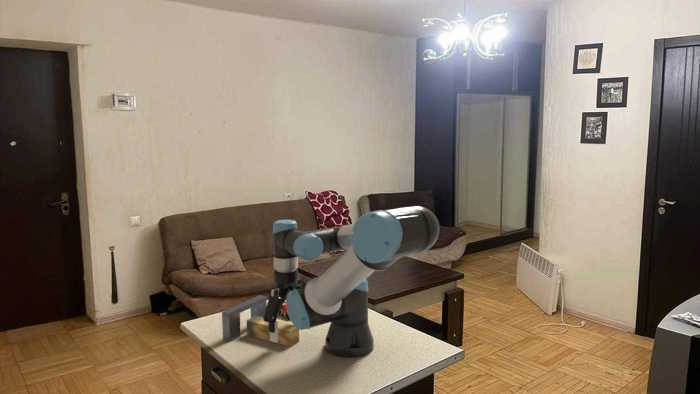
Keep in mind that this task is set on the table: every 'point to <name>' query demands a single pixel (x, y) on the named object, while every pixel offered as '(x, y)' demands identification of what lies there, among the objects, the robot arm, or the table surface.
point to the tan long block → (261, 330)
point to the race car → (284, 311)
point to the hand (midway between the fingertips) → (287, 333)
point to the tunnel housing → (233, 316)
